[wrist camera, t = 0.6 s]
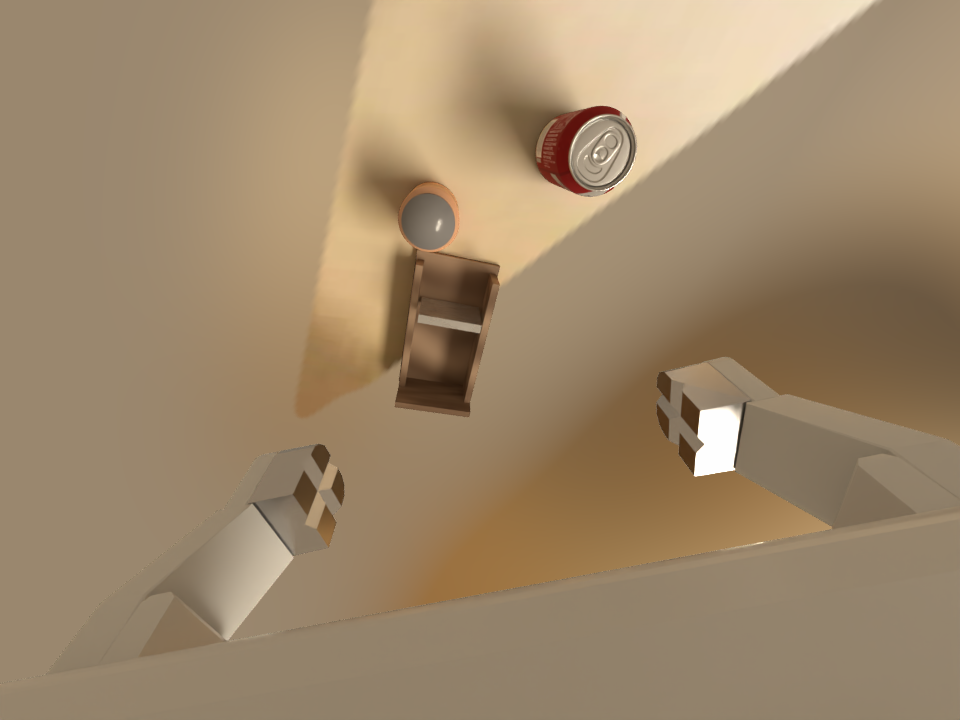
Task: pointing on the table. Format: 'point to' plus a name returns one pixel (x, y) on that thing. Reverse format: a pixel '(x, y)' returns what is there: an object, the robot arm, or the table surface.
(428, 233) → the jar
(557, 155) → the soda can
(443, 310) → the block
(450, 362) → the tray
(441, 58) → the table surface
